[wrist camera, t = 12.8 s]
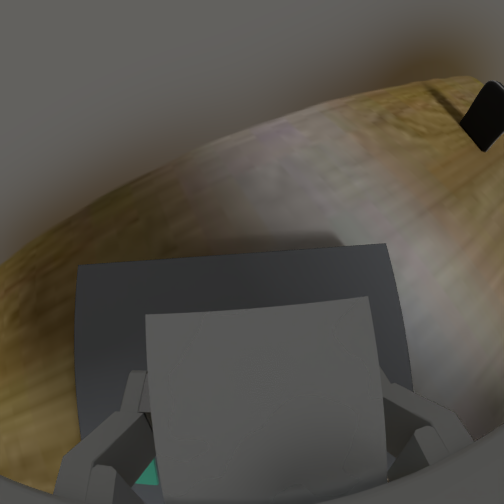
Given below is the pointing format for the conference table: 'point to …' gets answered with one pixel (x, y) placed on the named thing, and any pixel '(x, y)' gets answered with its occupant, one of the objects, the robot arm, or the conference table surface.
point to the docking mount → (216, 299)
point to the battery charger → (486, 115)
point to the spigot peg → (267, 403)
